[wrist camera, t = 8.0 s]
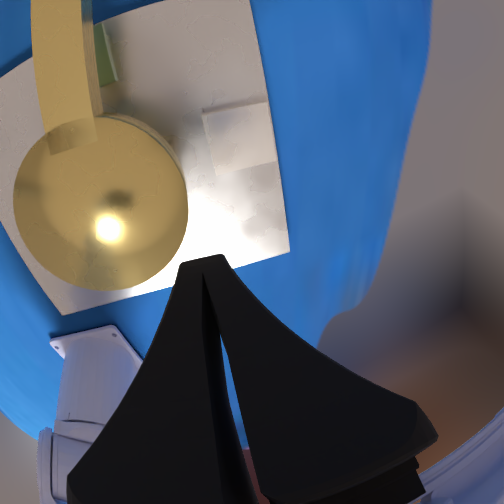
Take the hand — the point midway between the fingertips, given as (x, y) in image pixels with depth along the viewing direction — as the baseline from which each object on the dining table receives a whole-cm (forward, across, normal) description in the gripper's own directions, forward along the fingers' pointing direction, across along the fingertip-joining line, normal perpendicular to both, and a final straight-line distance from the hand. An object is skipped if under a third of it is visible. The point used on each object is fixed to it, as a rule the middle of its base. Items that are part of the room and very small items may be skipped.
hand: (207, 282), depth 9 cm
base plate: (+10, +4, -1) cm, 11 cm away
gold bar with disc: (+9, +4, -5) cm, 11 cm away
